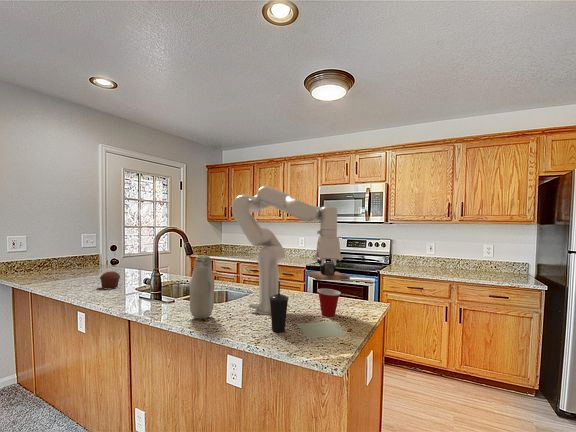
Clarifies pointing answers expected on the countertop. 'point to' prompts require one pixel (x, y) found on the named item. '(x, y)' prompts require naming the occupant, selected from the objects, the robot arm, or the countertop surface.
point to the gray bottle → (202, 288)
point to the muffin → (110, 279)
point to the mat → (321, 329)
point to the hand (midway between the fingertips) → (327, 273)
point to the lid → (328, 274)
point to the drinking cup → (278, 311)
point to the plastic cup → (328, 301)
